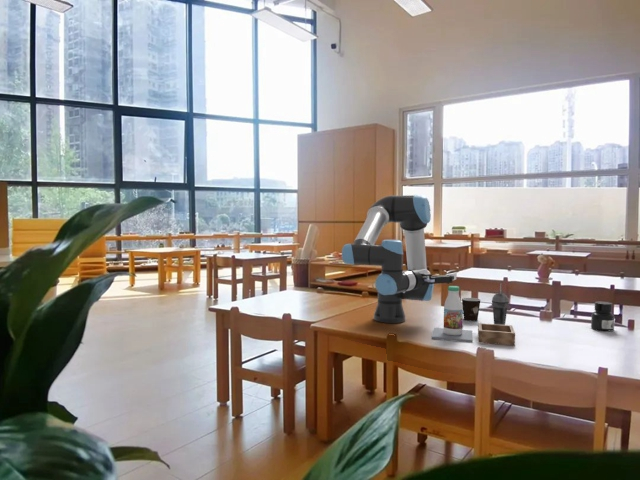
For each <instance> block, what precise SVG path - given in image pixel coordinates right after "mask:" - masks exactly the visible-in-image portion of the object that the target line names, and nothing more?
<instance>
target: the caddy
mask: <svg viewBox="0 0 640 480" xmlns="http://www.w3.org/2000/svg"><path fill="white" fill-rule="evenodd" d="M477 339H478V344H485V345H486V344H489V345H501V346H512V347H515V346H516V332H515V330H514V326H513V325H510V324H505V325H498V324H494V323H484V322H483V323H481V322H478V323H477Z"/></svg>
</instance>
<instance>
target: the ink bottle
mask: <svg viewBox="0 0 640 480" xmlns="http://www.w3.org/2000/svg"><path fill="white" fill-rule="evenodd" d="M612 312H613V303H612V302H608V301H594V311H593V312H592V313H591V316H590V317H591V318H590V319H591V322H590V323H591V325H590V328H591V329H592V328H593V330H595V329H597V330H596V331H600V330H604V331H603V332H609V331H608V330H613V331H614V330H615V315H614V314H613V313H612Z"/></svg>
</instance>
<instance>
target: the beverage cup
mask: <svg viewBox="0 0 640 480" xmlns="http://www.w3.org/2000/svg"><path fill="white" fill-rule="evenodd" d="M491 304H492V314H493V315H492V316H493V324H498V325H506V320H507V313H508V307H509V298H508V296H507V295H506V294H505V293H503V292H502V283H500V284H499V292H497V293H494V295H493V296H492V299H491Z"/></svg>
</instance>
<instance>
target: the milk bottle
mask: <svg viewBox="0 0 640 480" xmlns="http://www.w3.org/2000/svg"><path fill="white" fill-rule="evenodd" d="M447 292H448V294H447V296H446V299H445V301H444V304H443V305H444V306H443V328H444V333H445V334H447V335H461V334H462V331H463V330H464V329H463V324H464V323H463V322H464V316H463V305H462V299H461V298H460V287H459V286H458V285H449V286H448V287H447Z"/></svg>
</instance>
